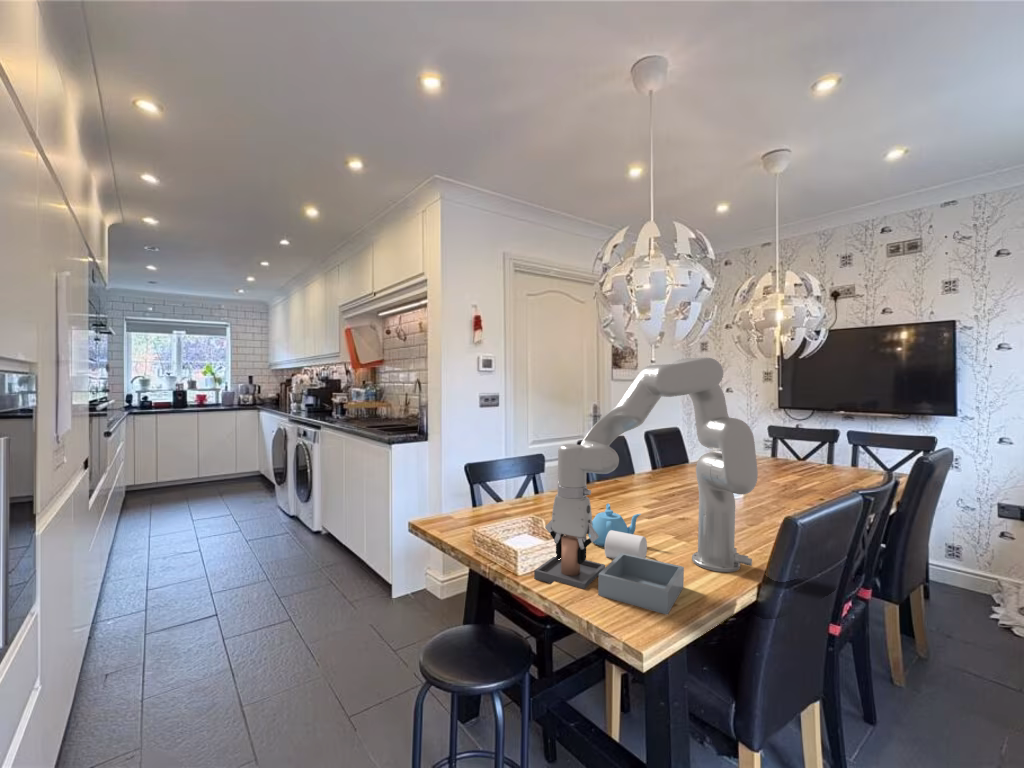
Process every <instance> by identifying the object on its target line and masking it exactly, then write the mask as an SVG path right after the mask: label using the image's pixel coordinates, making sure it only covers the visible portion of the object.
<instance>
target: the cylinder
mask: <svg viewBox="0 0 1024 768" xmlns="http://www.w3.org/2000/svg"><path fill="white" fill-rule="evenodd" d="M579 548H580V546H579V542H578V538H577V537H573V536H569V535H564V536H562V539H561V572H562V573H563V574H564V575H568V576H576V575H579V574H580V564H578V549H579Z"/></svg>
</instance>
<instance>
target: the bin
mask: <svg viewBox="0 0 1024 768" xmlns="http://www.w3.org/2000/svg"><path fill="white" fill-rule="evenodd" d="M684 573H685V567H684V566H682V565H676V564H672V563H668V562H664V561H659V560H656V559H655V560H654V559H651V558H650V559H649V558H647V557H646V558H642V557H638V556H633V555H629V554H624V553H620V554H619V555H618V556H617V557H616V558H615V559H613V560H612V561H610V563H608V565H606V566H605V568H604V569H603V570H602V571H601V572H600V573H599V576H598V577H597V578H598V580H597V581H598V582H597V585H598V586H597V587H598V588H597V591H598V592H597V596H599V597H603V598H607V599H610V600H614V601H617V602H621V603H624V604H627V605H630V606H631V605H632V606H635V607H637V608H642V609H645V610H648V611H653V612H656V613H660V614H663V615H669V614H670V611H671V610H672V608H673V606H674V604H675V603H676V601H677V599H678V597H679V595H680V593H681V592H682V590H683V589H684V585H685V583H684V578H685V577H684Z"/></svg>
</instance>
